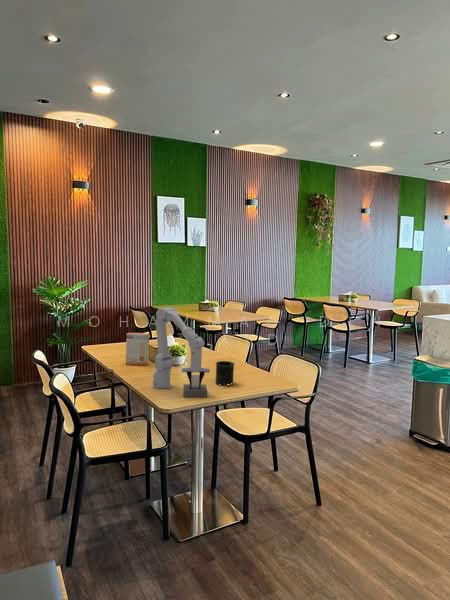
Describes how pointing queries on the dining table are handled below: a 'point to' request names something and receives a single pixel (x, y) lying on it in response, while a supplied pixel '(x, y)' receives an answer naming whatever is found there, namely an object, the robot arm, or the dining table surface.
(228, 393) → the dining table surface
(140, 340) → the cracker box
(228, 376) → the mug
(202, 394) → the socket block
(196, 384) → the steel peg
